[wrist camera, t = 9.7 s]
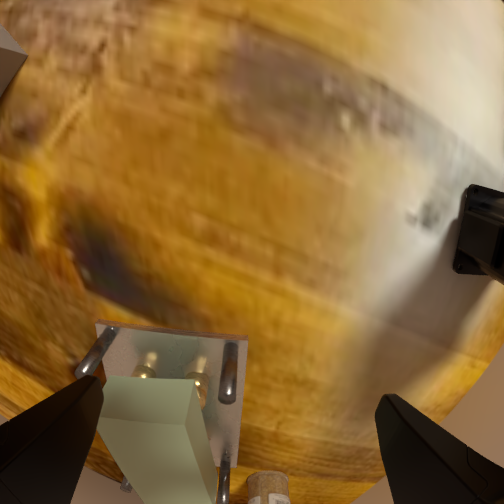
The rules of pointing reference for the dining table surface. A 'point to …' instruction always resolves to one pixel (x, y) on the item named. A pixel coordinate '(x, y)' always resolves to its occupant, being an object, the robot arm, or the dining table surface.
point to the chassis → (182, 376)
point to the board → (159, 439)
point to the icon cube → (9, 58)
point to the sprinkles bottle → (268, 488)
